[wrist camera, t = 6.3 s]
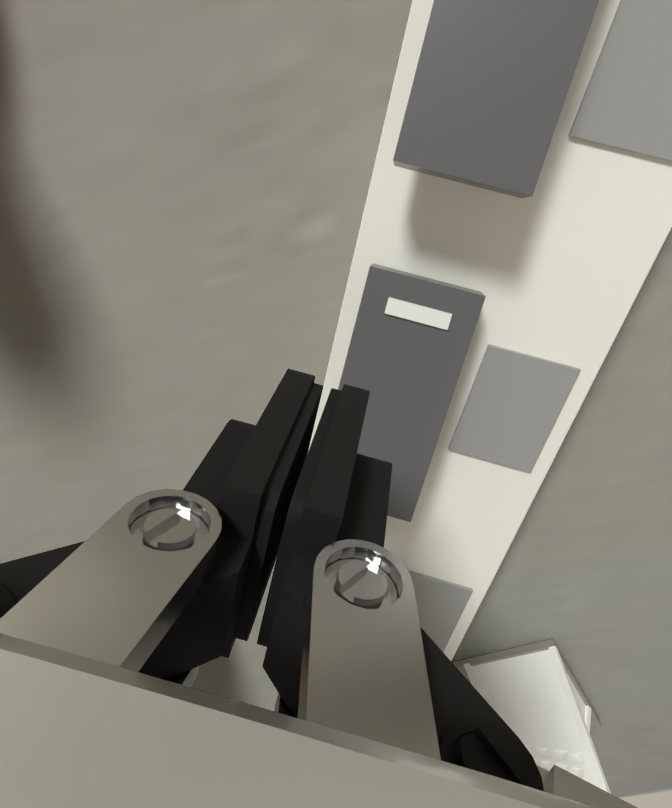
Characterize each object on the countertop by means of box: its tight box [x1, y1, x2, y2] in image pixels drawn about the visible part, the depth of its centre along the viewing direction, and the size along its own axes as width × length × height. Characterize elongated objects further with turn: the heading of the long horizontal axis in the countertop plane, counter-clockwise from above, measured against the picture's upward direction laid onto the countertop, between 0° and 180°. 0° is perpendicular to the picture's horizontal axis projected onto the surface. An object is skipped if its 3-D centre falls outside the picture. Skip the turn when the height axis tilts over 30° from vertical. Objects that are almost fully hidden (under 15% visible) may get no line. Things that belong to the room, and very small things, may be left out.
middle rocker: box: [338, 263, 486, 522], centre depth 19 cm, size 8×4×2 cm, turn 168°
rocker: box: [393, 0, 599, 198], centre depth 13 cm, size 8×4×2 cm, turn 168°
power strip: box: [309, 0, 672, 661], centre depth 21 cm, size 33×9×4 cm, turn 168°
